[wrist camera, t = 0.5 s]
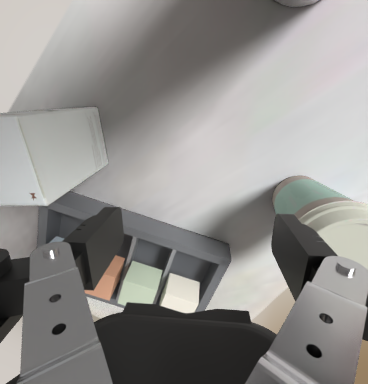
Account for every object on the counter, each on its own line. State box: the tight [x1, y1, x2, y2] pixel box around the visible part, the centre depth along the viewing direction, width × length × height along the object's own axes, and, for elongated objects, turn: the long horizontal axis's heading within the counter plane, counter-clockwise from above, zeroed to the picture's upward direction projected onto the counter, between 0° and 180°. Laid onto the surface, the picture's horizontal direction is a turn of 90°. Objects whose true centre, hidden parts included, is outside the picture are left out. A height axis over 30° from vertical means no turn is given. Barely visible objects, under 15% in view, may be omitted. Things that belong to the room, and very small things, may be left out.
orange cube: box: [84, 255, 125, 301], centre depth 31 cm, size 4×4×4 cm
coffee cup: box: [272, 176, 368, 270], centre depth 24 cm, size 9×8×12 cm
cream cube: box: [159, 273, 200, 313], centre depth 31 cm, size 4×4×4 cm
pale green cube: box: [118, 261, 163, 306], centre depth 31 cm, size 4×4×4 cm
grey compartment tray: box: [37, 191, 231, 312], centre depth 34 cm, size 15×26×4 cm, turn 72°
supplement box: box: [0, 107, 108, 206], centre depth 23 cm, size 7×7×13 cm
